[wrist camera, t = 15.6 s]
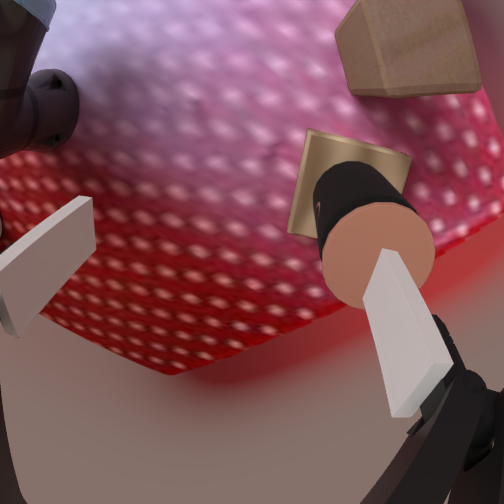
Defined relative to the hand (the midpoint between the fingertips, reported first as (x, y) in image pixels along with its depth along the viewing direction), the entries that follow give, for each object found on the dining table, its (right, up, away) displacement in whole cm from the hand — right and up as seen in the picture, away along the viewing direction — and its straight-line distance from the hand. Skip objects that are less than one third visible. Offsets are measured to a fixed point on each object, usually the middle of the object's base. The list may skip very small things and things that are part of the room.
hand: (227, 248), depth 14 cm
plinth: (+15, +9, +32) cm, 36 cm away
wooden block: (+18, +27, +23) cm, 39 cm away
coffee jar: (+14, +7, +29) cm, 33 cm away
